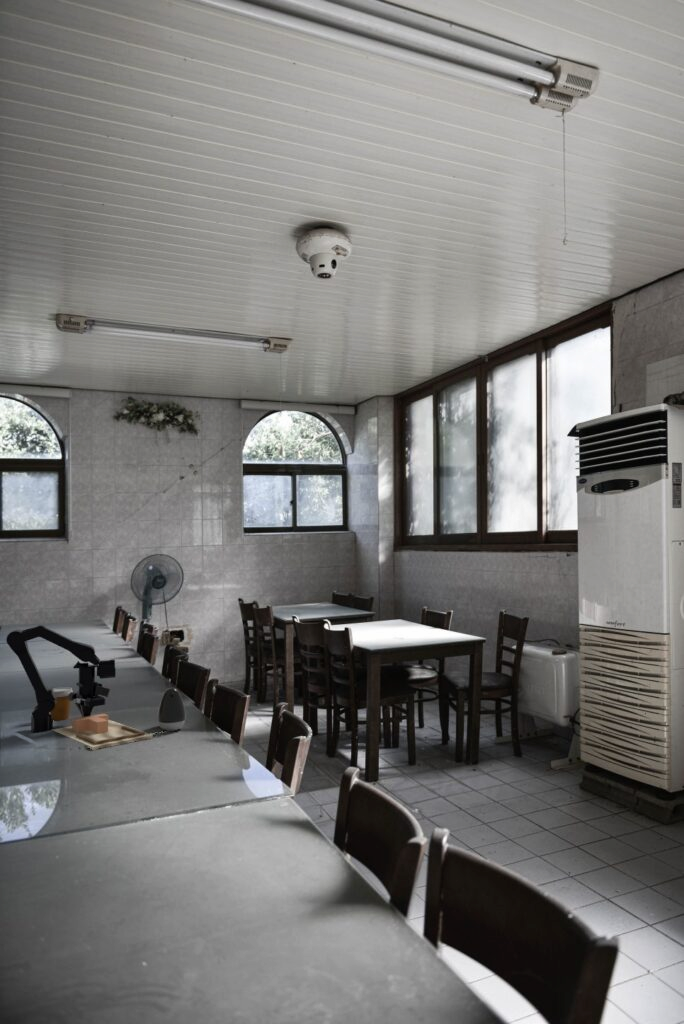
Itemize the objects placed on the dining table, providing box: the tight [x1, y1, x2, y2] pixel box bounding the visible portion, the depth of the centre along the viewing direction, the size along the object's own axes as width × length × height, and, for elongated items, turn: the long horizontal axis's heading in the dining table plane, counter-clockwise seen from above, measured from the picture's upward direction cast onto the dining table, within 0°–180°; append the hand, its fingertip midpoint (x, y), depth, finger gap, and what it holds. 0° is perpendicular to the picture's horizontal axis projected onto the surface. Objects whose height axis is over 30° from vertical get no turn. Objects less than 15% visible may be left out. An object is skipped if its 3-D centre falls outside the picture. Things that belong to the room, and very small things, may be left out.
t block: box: [71, 713, 109, 734], centre depth 263 cm, size 12×12×4 cm
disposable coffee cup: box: [49, 686, 74, 722], centre depth 284 cm, size 10×10×12 cm
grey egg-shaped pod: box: [157, 687, 187, 732], centre depth 267 cm, size 10×10×15 cm
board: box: [52, 719, 154, 751], centre depth 260 cm, size 22×34×2 cm, turn 43°
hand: (86, 722), depth 269 cm, fingers closed
